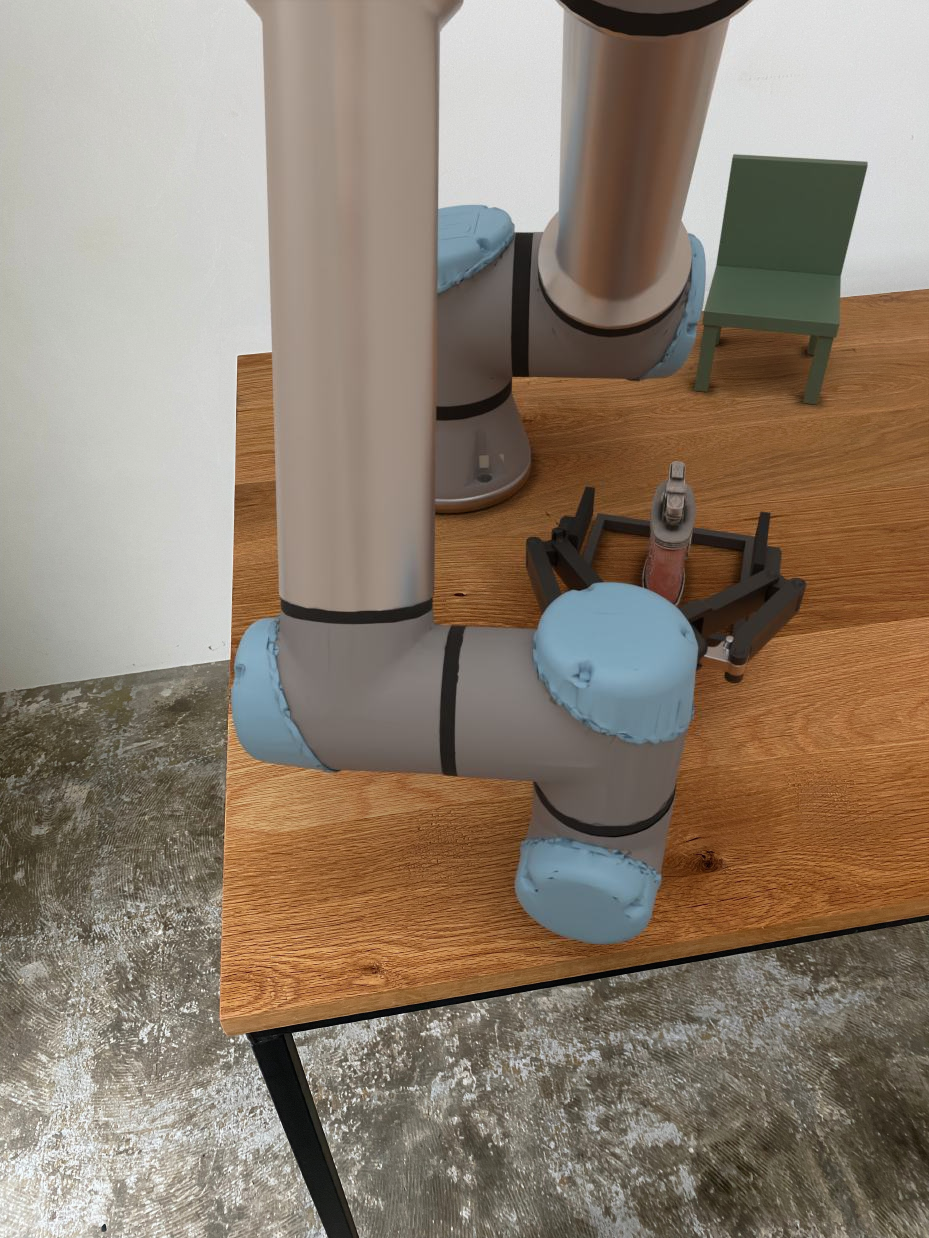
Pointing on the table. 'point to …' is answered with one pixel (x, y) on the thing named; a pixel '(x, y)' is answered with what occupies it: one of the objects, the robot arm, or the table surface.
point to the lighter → (670, 535)
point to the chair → (783, 254)
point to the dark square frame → (698, 537)
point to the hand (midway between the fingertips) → (674, 512)
